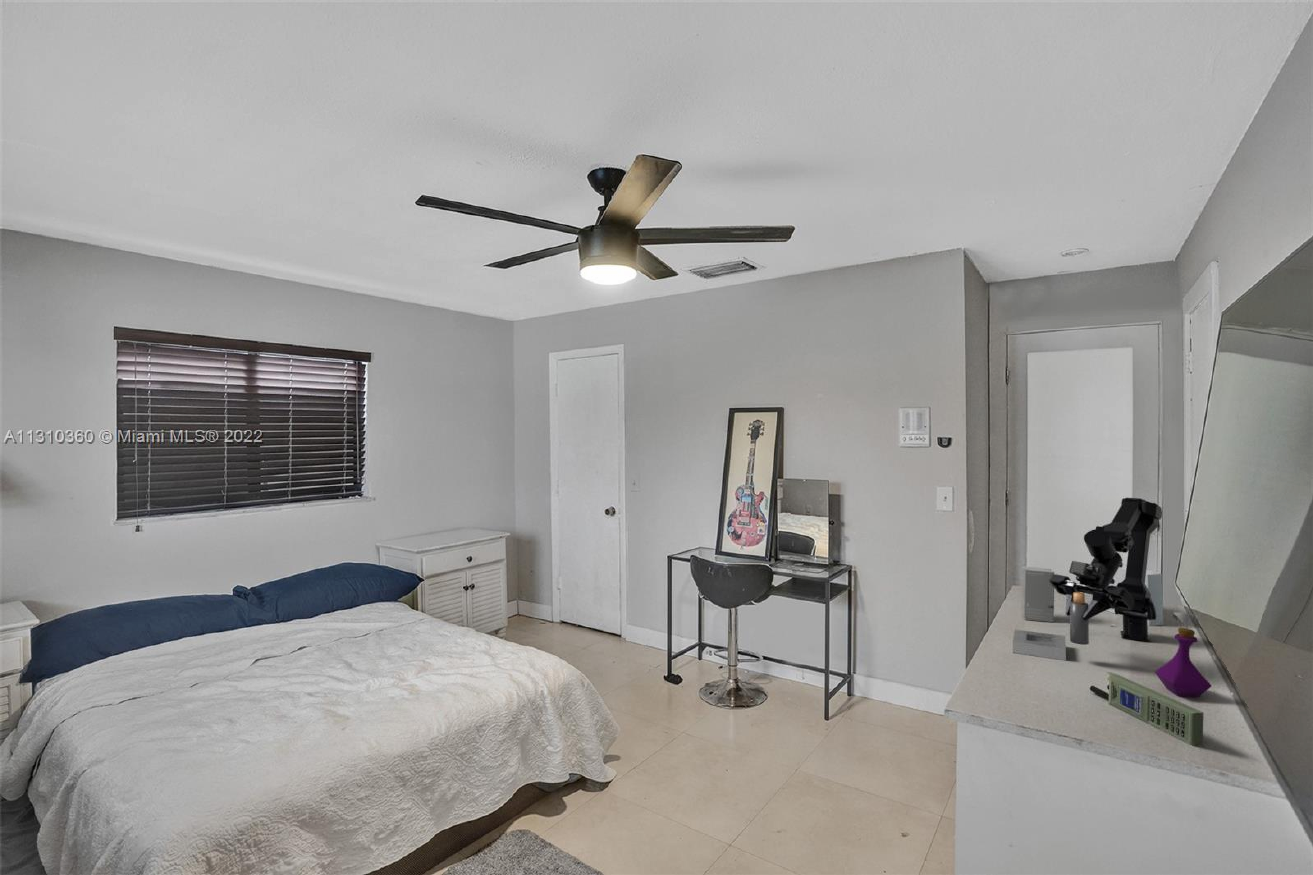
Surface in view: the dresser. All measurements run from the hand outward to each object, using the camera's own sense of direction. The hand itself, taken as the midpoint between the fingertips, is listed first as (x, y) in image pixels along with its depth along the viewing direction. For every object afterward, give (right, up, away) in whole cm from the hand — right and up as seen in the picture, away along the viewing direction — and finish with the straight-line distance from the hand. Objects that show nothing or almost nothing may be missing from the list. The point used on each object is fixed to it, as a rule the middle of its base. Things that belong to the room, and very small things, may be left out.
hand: (1075, 617), depth 164 cm
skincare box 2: (+42, -11, +40) cm, 59 cm away
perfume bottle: (+11, -12, -20) cm, 26 cm away
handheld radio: (-7, -12, -31) cm, 34 cm away
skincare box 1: (+13, -11, +38) cm, 42 cm away
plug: (+1, -7, +1) cm, 7 cm away
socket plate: (-3, -12, +10) cm, 16 cm away
